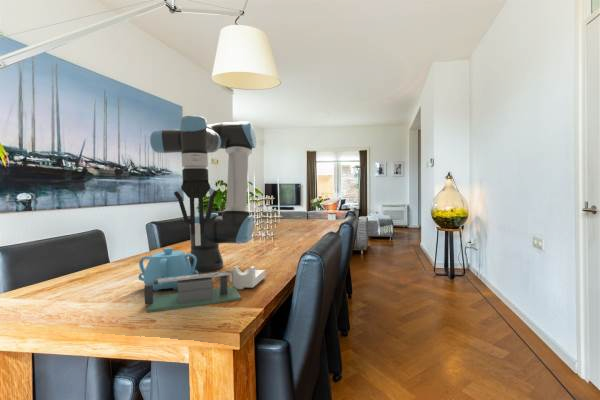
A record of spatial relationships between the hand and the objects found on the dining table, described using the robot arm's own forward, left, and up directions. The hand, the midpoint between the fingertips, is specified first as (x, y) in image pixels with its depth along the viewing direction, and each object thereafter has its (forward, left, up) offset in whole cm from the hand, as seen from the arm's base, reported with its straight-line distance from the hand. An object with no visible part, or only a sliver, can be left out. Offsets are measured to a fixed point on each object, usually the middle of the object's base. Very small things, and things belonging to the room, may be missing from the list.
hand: (197, 244), depth 100 cm
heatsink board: (0, -1, -17) cm, 17 cm away
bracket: (-10, +18, -17) cm, 27 cm away
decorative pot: (-18, -9, -17) cm, 26 cm away
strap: (0, -1, -12) cm, 12 cm away
